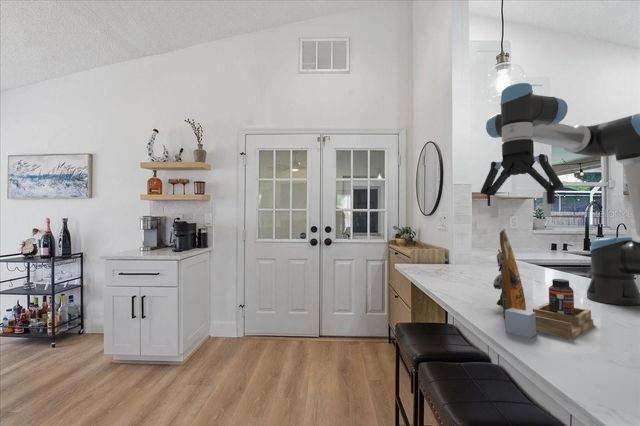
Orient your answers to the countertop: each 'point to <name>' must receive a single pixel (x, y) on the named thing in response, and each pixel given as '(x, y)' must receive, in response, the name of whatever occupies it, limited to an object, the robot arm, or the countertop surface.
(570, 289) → the supplement bottle
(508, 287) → the pancake mix bag
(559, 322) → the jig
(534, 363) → the countertop surface
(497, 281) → the robot
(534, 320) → the wing block
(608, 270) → the robot arm
